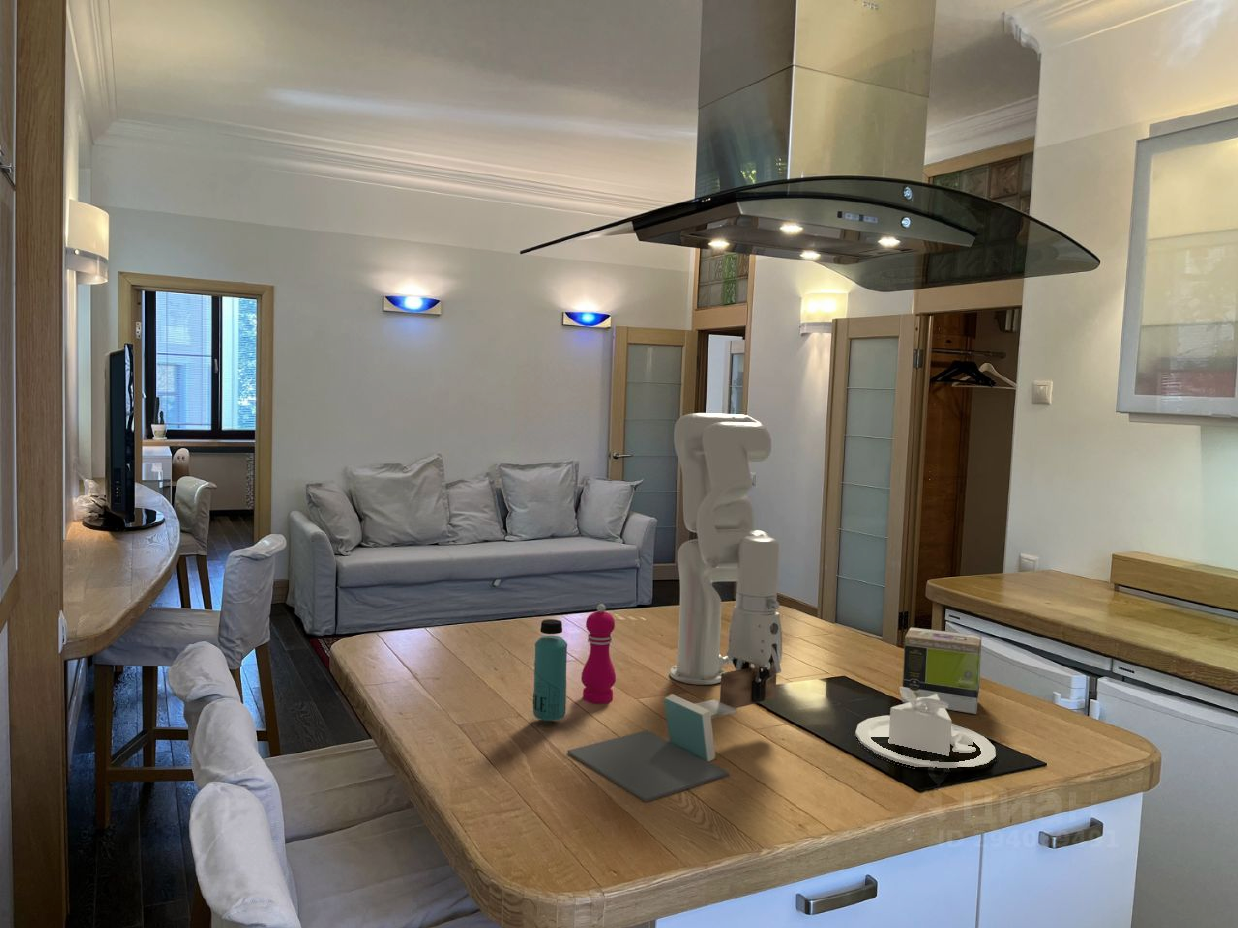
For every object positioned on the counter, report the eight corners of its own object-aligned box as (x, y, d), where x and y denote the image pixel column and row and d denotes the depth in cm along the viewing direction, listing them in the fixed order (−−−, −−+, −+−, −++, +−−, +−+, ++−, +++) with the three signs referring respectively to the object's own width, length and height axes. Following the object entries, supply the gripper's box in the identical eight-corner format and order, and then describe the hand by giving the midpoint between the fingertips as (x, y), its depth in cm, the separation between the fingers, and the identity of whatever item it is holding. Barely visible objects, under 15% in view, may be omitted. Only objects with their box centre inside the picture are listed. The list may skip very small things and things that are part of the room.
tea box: (978, 701, 188) (983, 634, 187) (976, 716, 179) (981, 645, 178) (906, 689, 195) (910, 624, 194) (900, 703, 185) (904, 635, 184)
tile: (677, 738, 160) (672, 693, 158) (715, 757, 152) (709, 710, 151) (669, 743, 159) (664, 697, 157) (706, 762, 151) (701, 715, 149)
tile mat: (647, 732, 164) (647, 729, 163) (729, 775, 146) (729, 772, 146) (567, 753, 153) (567, 750, 153) (645, 801, 135) (646, 798, 135)
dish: (983, 787, 146) (988, 721, 145) (837, 751, 159) (841, 690, 158) (1005, 741, 167) (1009, 683, 166) (875, 712, 180) (878, 659, 179)
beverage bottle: (570, 719, 169) (574, 618, 167) (557, 731, 163) (560, 626, 161) (540, 714, 171) (543, 614, 169) (525, 725, 165) (528, 622, 163)
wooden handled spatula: (758, 691, 169) (759, 661, 169) (781, 700, 165) (783, 670, 164) (681, 709, 157) (683, 677, 157) (704, 720, 153) (706, 686, 152)
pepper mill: (611, 706, 177) (614, 609, 175) (576, 702, 178) (580, 606, 177) (618, 694, 184) (621, 601, 183) (585, 691, 185) (588, 599, 184)
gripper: (802, 609, 159) (797, 707, 160) (738, 591, 171) (734, 682, 173) (774, 614, 154) (769, 715, 155) (711, 595, 167) (707, 689, 168)
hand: (751, 697), depth 164 cm, fingers closed on wooden handled spatula, 2 cm apart
